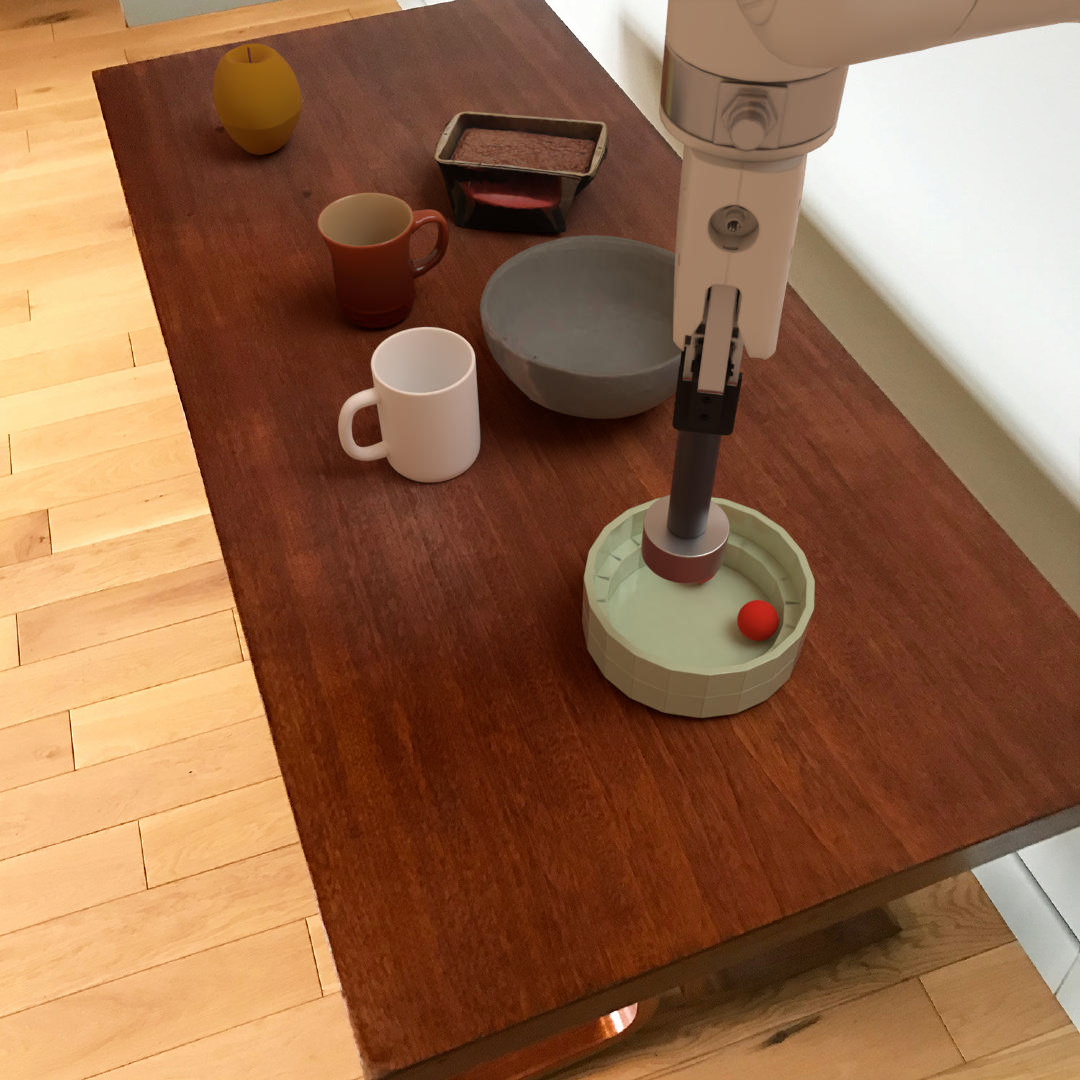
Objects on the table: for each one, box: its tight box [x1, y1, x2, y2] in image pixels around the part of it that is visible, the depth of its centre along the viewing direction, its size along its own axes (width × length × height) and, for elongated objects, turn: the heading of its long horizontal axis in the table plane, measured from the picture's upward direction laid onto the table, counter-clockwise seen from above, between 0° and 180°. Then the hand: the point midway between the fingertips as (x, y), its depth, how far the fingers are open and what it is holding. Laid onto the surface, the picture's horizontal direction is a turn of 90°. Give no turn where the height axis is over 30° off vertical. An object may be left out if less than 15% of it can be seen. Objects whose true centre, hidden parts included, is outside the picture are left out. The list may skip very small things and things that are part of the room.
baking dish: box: [433, 111, 610, 234], centre depth 118 cm, size 14×18×10 cm
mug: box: [316, 192, 450, 329], centre depth 105 cm, size 12×9×10 cm
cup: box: [337, 326, 481, 484], centre depth 92 cm, size 8×12×10 cm
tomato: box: [737, 600, 779, 641], centre depth 82 cm, size 3×3×3 cm
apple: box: [212, 43, 303, 156], centre depth 124 cm, size 10×10×12 cm
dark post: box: [641, 344, 732, 584], centre depth 63 cm, size 5×5×18 cm
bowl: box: [479, 234, 682, 420], centre depth 98 cm, size 20×20×10 cm
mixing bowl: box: [581, 496, 816, 719], centre depth 81 cm, size 16×16×6 cm
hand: (704, 407), depth 60 cm, fingers closed on dark post, 2 cm apart
